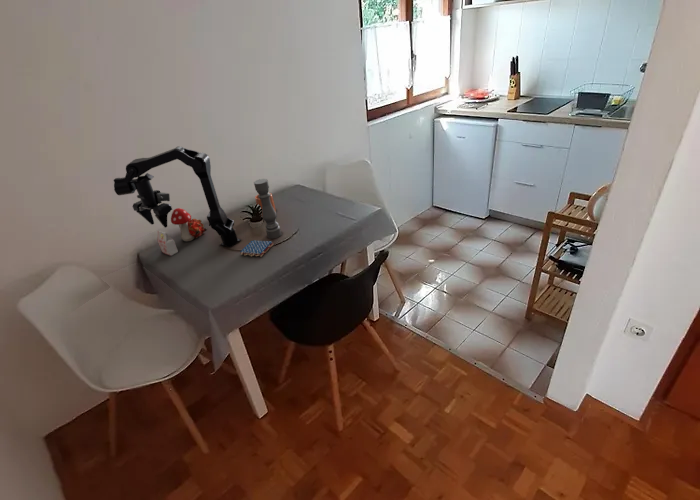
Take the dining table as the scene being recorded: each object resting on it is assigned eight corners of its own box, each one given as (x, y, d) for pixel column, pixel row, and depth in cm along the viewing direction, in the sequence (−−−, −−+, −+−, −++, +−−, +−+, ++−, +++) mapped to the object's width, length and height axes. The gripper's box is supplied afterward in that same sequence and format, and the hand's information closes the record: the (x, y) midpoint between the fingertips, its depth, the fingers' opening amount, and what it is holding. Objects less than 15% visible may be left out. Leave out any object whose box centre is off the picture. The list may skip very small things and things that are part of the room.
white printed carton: (169, 248, 184) (161, 228, 179) (178, 251, 180) (170, 231, 176) (162, 252, 182) (154, 232, 177) (170, 255, 178) (162, 235, 173)
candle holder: (268, 233, 184) (254, 180, 172) (281, 230, 184) (268, 177, 172) (266, 239, 179) (252, 185, 167) (281, 237, 179) (267, 182, 167)
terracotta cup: (279, 210, 205) (275, 193, 201) (268, 217, 200) (264, 199, 195) (267, 208, 210) (262, 191, 205) (256, 215, 204) (251, 198, 199)
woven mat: (262, 257, 165) (260, 253, 164) (240, 256, 169) (238, 251, 168) (274, 244, 174) (273, 240, 173) (253, 243, 178) (252, 239, 177)
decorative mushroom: (202, 237, 190) (191, 207, 182) (185, 245, 185) (173, 215, 177) (191, 232, 196) (181, 203, 189) (174, 240, 191) (163, 210, 184)
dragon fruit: (197, 233, 199) (203, 245, 190) (179, 229, 193) (185, 241, 185) (204, 217, 196) (210, 229, 188) (186, 213, 191) (192, 225, 182)
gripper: (176, 185, 168) (188, 220, 176) (148, 182, 178) (162, 214, 185) (152, 196, 160) (166, 232, 168) (125, 192, 170) (140, 225, 178)
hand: (159, 225), depth 175 cm, fingers open, 9 cm apart
